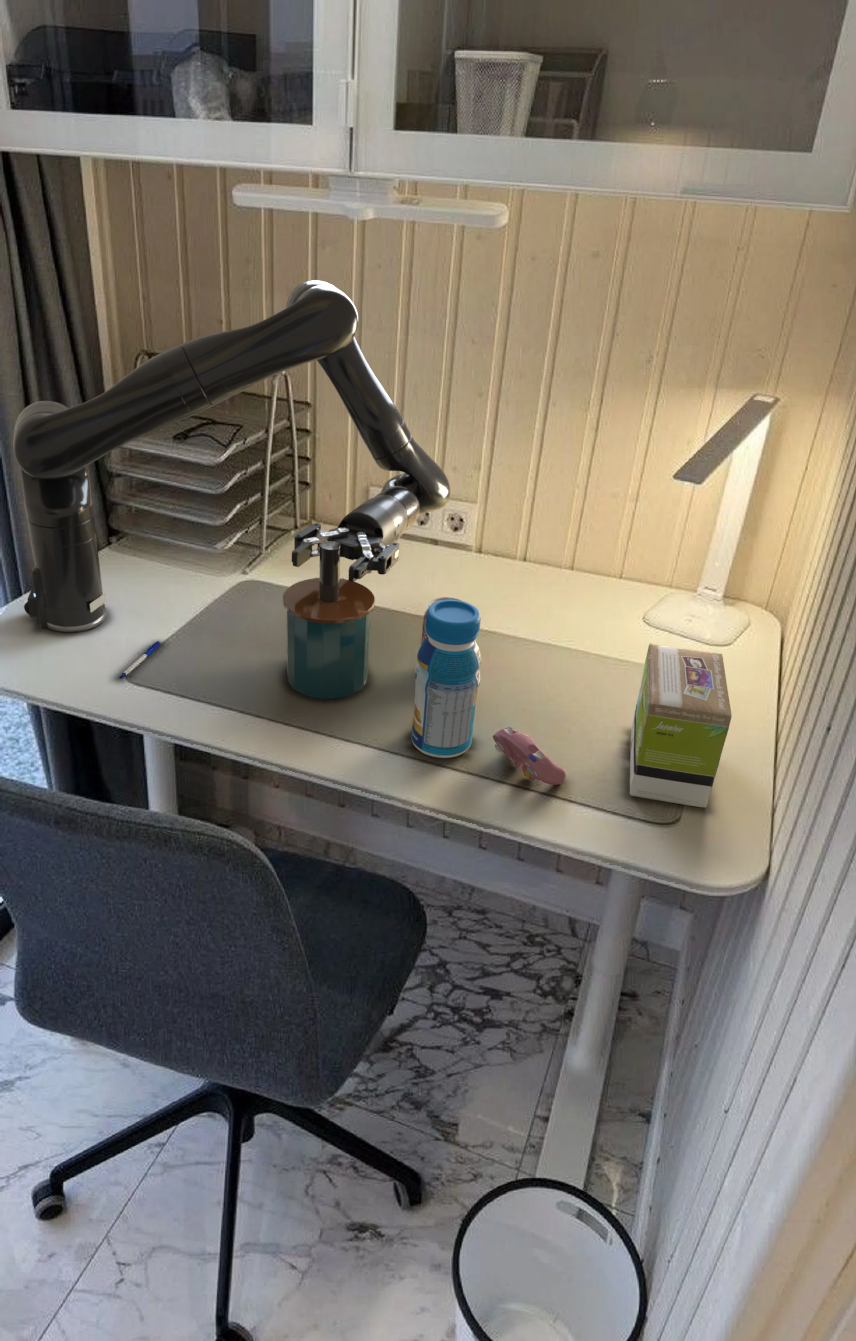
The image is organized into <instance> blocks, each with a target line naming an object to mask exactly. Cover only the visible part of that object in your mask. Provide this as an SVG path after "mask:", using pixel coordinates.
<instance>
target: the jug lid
mask: <svg viewBox="0 0 856 1341" xmlns="http://www.w3.org/2000/svg"><path fill="white" fill-rule="evenodd" d="M318 564H319V565H318V566H319V567H318V568H319V571H318V576H319V577H314V578H308V579H303V580H300V581H298V582H295V583H293V584H292V585H290V586H289V587H287V589H285V591H284V592H283V595H282V604H283V607H284V608H285V610H286V612H287V611H288V612H290V613H291V614H292V615H294V616H296V617H298V618H301V619H303V620H307V621H311V622H316V623H325V624H338V623H346V622H351V621H355V620H358V619H360V618H363V617H365V616H366V615H368V614H369V613H370V612H372V611H373V610H374V608H375V604H376V598H375V595H374V593H373V591H371V590H370V588H368V587H366V586H365V585H364V584H361V583H359V582H356V581H355V582H353V581H349V579H346V578H342V577H341V557H340V544H339V543H337V542H334V541H325V542H322V543H321V544H320V556H319V563H318ZM370 614H371V613H370Z"/></svg>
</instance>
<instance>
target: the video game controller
mask: <svg viewBox="0 0 856 1341" xmlns="http://www.w3.org/2000/svg"><path fill="white" fill-rule="evenodd" d="M492 739H493V741H494V743H495V744H494V748H495V750H496V751H497V752H500V753H502V752H503V753H504V755H505V756H506V758H507V759H508V761H509V762H510V763H511V764H512V765H513V766H514V767H516V768H519V767H520V766H521V765H522V766H521V770H522V773H523V775H524V776H525V778H528V779H529V780H531V781H540V782H543V783H545V784H547V785H553V786H557V785H561V784H562V783H563V782H564V781H565V779H566V771H565V769H564V768H562V767H560V766H559V765H557V764H555V763H554V762H553V761H552V760H551V759H550V758H549V756H548V755H547V754H546V753H545V752H543V750H541V749H540V748H539V746H538V745H537V744H536V742H535V741H534V739H533V738H532V737H531V736H530V735H528V734H525V733H522V732H521V731H518V730H516V729H514V728H513V727H511V726H506V727H504V728H501V729H499V730H498V731H496V732H495V733H494V734H493V735H492Z"/></svg>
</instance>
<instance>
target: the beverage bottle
mask: <svg viewBox="0 0 856 1341" xmlns="http://www.w3.org/2000/svg"><path fill="white" fill-rule="evenodd" d="M459 600H460V599H459ZM459 600H441V601H437V602H435V603H433V604H431V605H430V606H429V605H428V607H427V609H428V611H427V610H426V611H427V614H426V634H427V636H428V637H427V638H426V639H425V640H424V642H423V643H422V645H421V644H420V647H419V648H418V651H417V657H416V658H417V659H416V660H417V665H416V667H415V671H414V681H415V691H414V705H413V720H412V727H411V734H410V735H411V736H410V738H411V742H412V744H413V746H414V747H415V748H416V749H417V750H418V752H421V753H422V754H424V755H426V756H429V757H432V758H436V759H437V758H438V759H451V758H455V757H459V756H461V755H463V754H465V753H466V752H467V751H468V750H469V749H470V747H471V745H472V741H473V729H474V721H475V713H476V706H477V698H478V690H479V687H480V684H481V672H480V670H479V669H480V668H481V666H482V653H481V651H480V648H479V645H478V644H477V642H476V641H477V639H478V637H479V634H480V628H481V621H482V620H481V619H482V618H481V611H480V610H479V609H478V607H476V606H475V605H474V604H471V603H469V602H467V601H463V600H461V601H459Z"/></svg>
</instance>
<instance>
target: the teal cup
mask: <svg viewBox="0 0 856 1341" xmlns="http://www.w3.org/2000/svg"><path fill="white" fill-rule="evenodd" d="M371 612H372V611H371ZM371 612H370V613H369V614H368V615H366V616H365V617H363V618H360V619H358V620H355V621H351V622H346V623H338V624H325V623H316V622H311V621H307V620H303V619H301V618H298V617H296V616H294V615H292V614H291V613H290V612H288V611H287V610H286V676H287V682H288V684H289V685H290V687H291V688H292V689H293V690H295V691H296V692H297V693H300V694H302V695H304V696H308V697H311V698H315V699H321V700H333V699H342V698H346V697H349V696H352V695H354V694H356V693H358V692H359V691H360V690H362V689H363V688H364V687H365V685H366V684H367V680H368V675H369V653H370V633H371Z"/></svg>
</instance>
